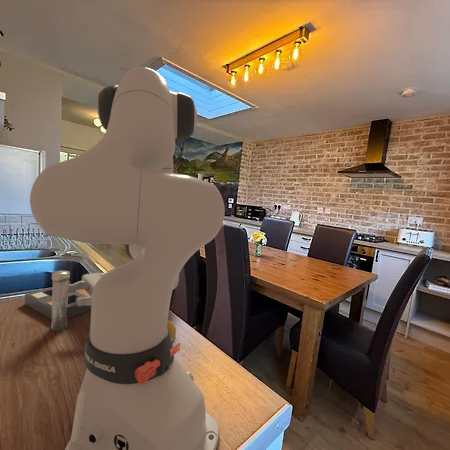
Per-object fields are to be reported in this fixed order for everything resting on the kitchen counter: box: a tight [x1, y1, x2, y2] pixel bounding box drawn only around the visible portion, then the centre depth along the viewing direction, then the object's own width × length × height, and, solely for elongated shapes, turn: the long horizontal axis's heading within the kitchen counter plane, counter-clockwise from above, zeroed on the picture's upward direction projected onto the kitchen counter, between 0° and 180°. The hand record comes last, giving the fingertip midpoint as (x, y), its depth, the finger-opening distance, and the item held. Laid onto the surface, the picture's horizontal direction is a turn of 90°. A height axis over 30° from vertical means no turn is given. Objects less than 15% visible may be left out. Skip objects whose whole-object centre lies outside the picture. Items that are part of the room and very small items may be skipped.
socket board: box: [24, 286, 91, 320], centre depth 74 cm, size 16×10×3 cm, turn 61°
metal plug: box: [50, 270, 71, 332], centre depth 63 cm, size 4×4×14 cm
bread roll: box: [167, 320, 177, 343], centre depth 64 cm, size 8×9×4 cm
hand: (71, 295), depth 64 cm, fingers open, 8 cm apart
